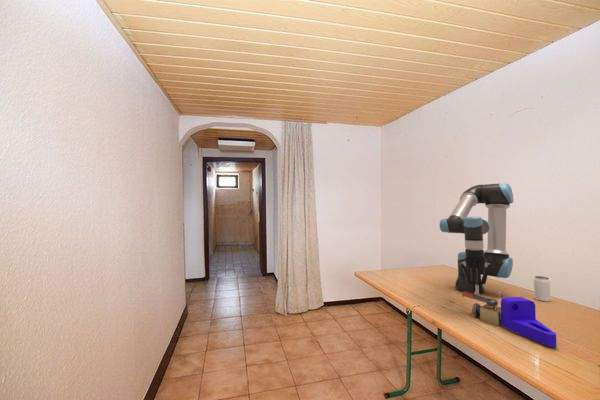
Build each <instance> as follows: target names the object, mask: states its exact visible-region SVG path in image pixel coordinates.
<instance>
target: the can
mask: <svg viewBox="0 0 600 400" xmlns="http://www.w3.org/2000/svg"><path fill="white" fill-rule="evenodd" d="M533 284H534V285H533V290H534V291H533V292H534V299H535V300H536V301H539V302H544V301H545V302H547V303H548V301H549V302H551V280H550V278H549V277H547V276H543V275H542V276H540V275H535V276H534V279H533ZM545 302H544V303H545Z"/></svg>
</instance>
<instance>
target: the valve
mask: <svg viewBox="0 0 600 400" xmlns="http://www.w3.org/2000/svg"><path fill="white" fill-rule="evenodd" d="M471 309H472V310H471V311H472V312H471V313H472V315H473V317H476V318H479V317H480V319H479V320H480V321H481V322H483V323H486V324H490V325H493V326H496V327H500V326H502V325H501V306H491V305H488V304H487V303H485V304H484V305H482V306H481V304H480V303H477V302H475V303H474V304H473V305H472V308H471Z"/></svg>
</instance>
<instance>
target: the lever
mask: <svg viewBox="0 0 600 400" xmlns="http://www.w3.org/2000/svg"><path fill="white" fill-rule="evenodd" d="M461 293H462V295H461V296H462V297H466V298H469V299H471V300H476V301H480V302H483V303H485V304H488V305H491V306H497V307H499V303H498V302H499V301H498V300H497V299H494V298H488V297H484V296H481V295H479V296H478V295H476V294H473V293H469V292H466V291H465V292H462V291H461Z"/></svg>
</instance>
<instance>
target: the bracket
mask: <svg viewBox="0 0 600 400" xmlns="http://www.w3.org/2000/svg"><path fill="white" fill-rule="evenodd" d="M500 307H501V325H500V326H502V327H503V328H505V329H507V330H509V331H512V332H514V333H516V334H518V335H520V336H522V337H525V338H528V339H529V340H533V341H535V342H537V343H539V344H541V345H543V346H547V347H551V348H557V333H556V332H555V331H553V330H551V328H550V327H548V326H546V325H545V324H543V323H542V322H541V321H539V320H538V319H537V316H536V313H537V312H536V304H535V302H534V301H533V300H530V299H528V298H525V297H523V296H505V297H503V298H501V300H500Z"/></svg>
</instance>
